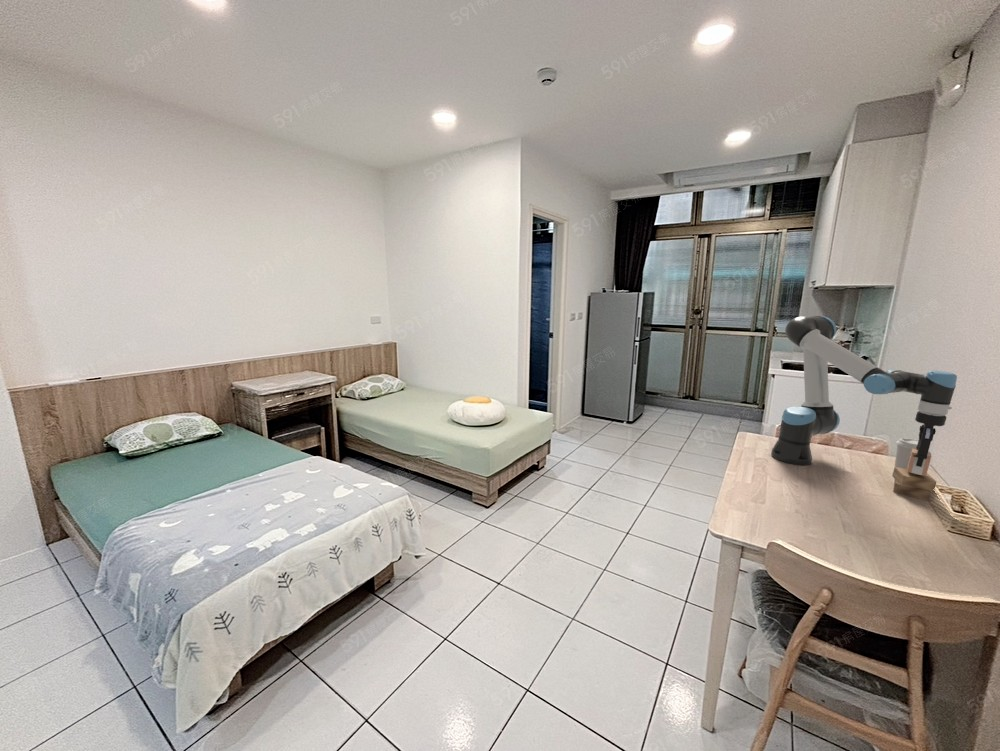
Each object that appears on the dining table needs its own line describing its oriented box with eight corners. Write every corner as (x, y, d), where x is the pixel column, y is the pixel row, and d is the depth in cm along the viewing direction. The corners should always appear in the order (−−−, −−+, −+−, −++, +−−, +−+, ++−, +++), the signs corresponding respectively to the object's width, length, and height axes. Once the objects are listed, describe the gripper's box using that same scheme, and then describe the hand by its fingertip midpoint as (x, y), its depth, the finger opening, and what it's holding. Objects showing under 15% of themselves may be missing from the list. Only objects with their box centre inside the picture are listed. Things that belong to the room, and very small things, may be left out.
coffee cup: (906, 470, 173) (915, 437, 169) (927, 480, 163) (936, 446, 160) (882, 468, 173) (890, 436, 170) (902, 479, 164) (910, 445, 161)
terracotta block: (907, 471, 152) (912, 452, 150) (907, 467, 156) (912, 448, 154) (926, 476, 149) (931, 456, 147) (925, 472, 152) (930, 452, 150)
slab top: (901, 485, 152) (903, 475, 151) (892, 475, 159) (894, 466, 158) (933, 491, 147) (936, 481, 147) (923, 481, 155) (925, 471, 154)
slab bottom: (892, 492, 154) (895, 483, 153) (893, 484, 161) (896, 475, 160) (928, 502, 148) (931, 492, 147) (927, 493, 154) (930, 483, 153)
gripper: (948, 421, 138) (931, 482, 143) (945, 410, 150) (929, 467, 156) (917, 416, 143) (902, 475, 148) (917, 405, 156) (903, 461, 161)
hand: (916, 471), depth 152 cm, fingers closed on terracotta block, 5 cm apart
